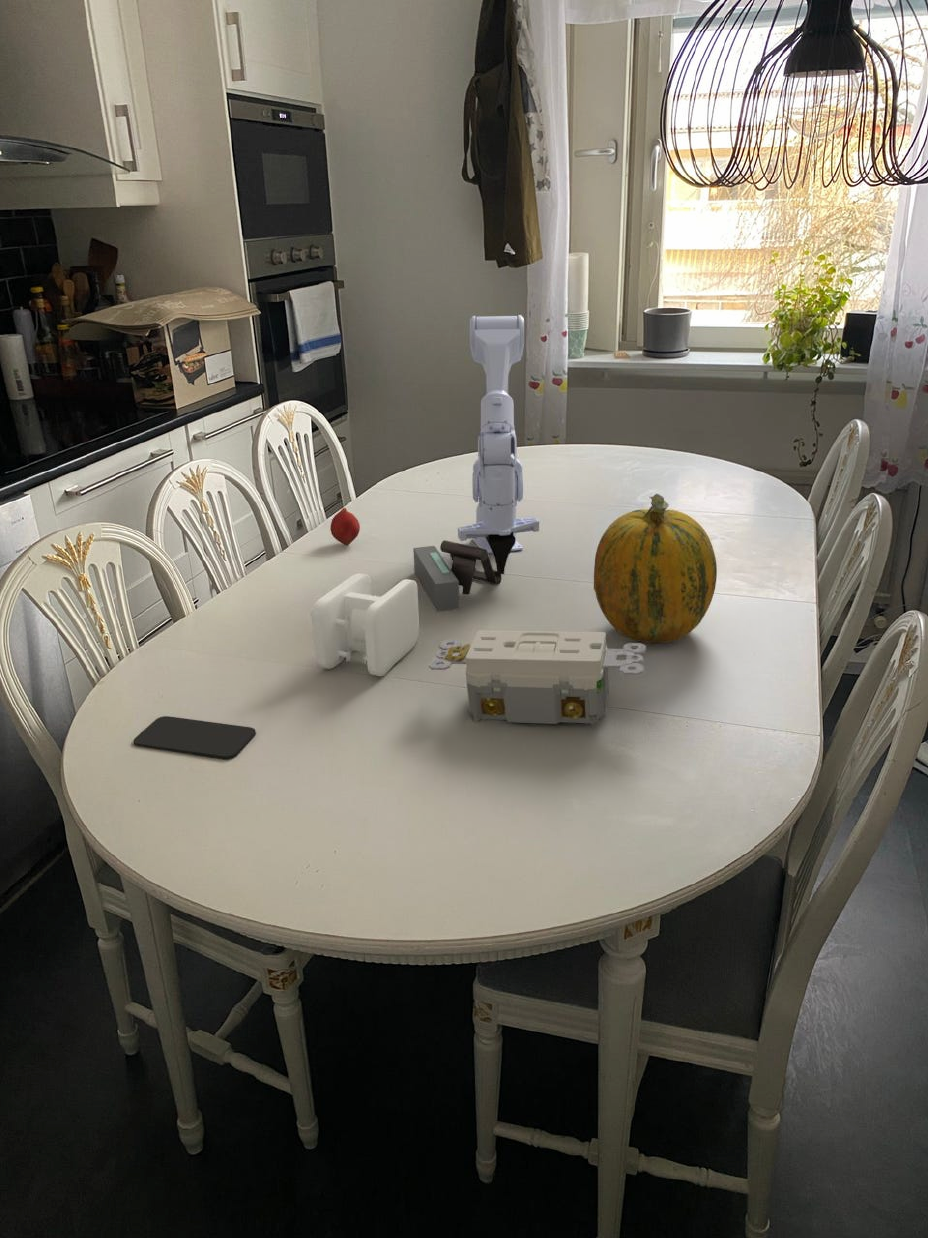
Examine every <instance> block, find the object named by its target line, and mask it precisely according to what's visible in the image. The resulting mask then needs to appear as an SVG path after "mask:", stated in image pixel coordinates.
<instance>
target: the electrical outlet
mask: <svg viewBox="0 0 928 1238" xmlns="http://www.w3.org/2000/svg"><path fill="white" fill-rule="evenodd" d="M438 648H439V649H441V650H439V651H437V652H436V654H435V659H432V660H431V661H430V662H429V663H428V668H429V669H431V670H433V671H445V670H447V669H449V668H451V666H452V665H466V668H465V680H466V690H467V700H468V701H467V702H468V708H469V712H470V714H471V715H472V717H473V720H474V721H476V722H477V721H479V720H493V721H494V720H495V721H507V722H508V723H522V724H524V723H525V724H528V723H529V724H552V725H554V724H555V725H556V724H559V723H577V724H578V723H579V724H581V723H582V724H589V723H590V725H594V722H595V723H598V722H599V719H601V718H603V717H604V716H605V715H606V713H607V705H608V698H609V669H610V668H611V669H612V668H615V669H619V672H620V673H621V674H623V675H628V676H629V675H631V676H633V675H634V676H638V675H640V674H642V673H643V674H644V665H642V664H641V663H642V662H643V661H644V656H643V655H642V654H644V653H646V651H647V650H646V648H647V646H646V645H645V644H643V643H642V642H641V643H638V642H635V643H633V642H630V643H626V644H624V645H623V648H608V646H607V633H606V632H603V631H567V630H566V631H563V630H562V631H559V630H557V631H556V630H555V631H553V630H552V631H551V630H548V631H547V630H546V631H545V630H501V629H500V630H499V629H497V630H496V629H495V630H494V629H493V630H492V629H490V630H489V629H488V630H487V629H482V630H481V629H480V630H478V631H477V632H476V634H475V636H474V638H473V640H472V642H471V644H470V643H467V644H464V645H462V642H461V641H460V640H456V639H455V640H454V639H447V640H443V641H441V642H440V644H439V645H438ZM453 654H458V655H453ZM619 657H625V658H626V659H621V660H619V659H618V658H619ZM608 668H609V669H608ZM631 669H632V670H631Z"/></svg>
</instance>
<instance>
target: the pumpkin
mask: <svg viewBox="0 0 928 1238" xmlns="http://www.w3.org/2000/svg"><path fill="white" fill-rule="evenodd" d="M649 498H650V499H651V502H650V505H651V506H650V507H649V508H642V509H637V510H631V511H632V512H630V511H629V512H627V513H625V514H622V515H621V516H619V517H618V518H616V519H615V520H614V521H613V522H611V524H610V525H609V526H608V527H607V528H606V530H605V531H604V532H603V534H602V536H601V538H600V540H599V543H598V545H597V548H596V552H595V557H594V566H593V567H594V569H593V589H594V592H595V597H596V600H597V603H598V606H599V608H600V610H601V612H602V614H603V616H604V617H605V619H606V620H607V622H608V623H609V624H610V625H611V626H612V627H613V629H615V630H616V631H617V632H619V633H620V635H623V636H624V637H626V638H628V639H631V640H633V641H637V642H641V643H642V642H643V643H649V644H651V643H653V644H665V643H666V644H667V643H670V642H674V641H677V640H679V639H681V638H684V637H685V636H687V635H689V634H690V633H691V632H692V631H693V630H695V629H696V628H697V626H699V624H700V623H701V622H702V621H703V619H704V617H705V616H706V614H707V611H708V610H709V608H710V606H711V602H712V600H713V598H714V594H715V592H716V591H715V590H716V584H717V573H718V569H717V567H718V566H717V565H718V564H717V558H716V554H715V551H714V547H713V544H712V541H711V540H710V537H709V535H708V533H707V532H706V531H705V529H704V528H703V526H701V524H700V523H698V522H697V521H696V520H695V519H694V518H693V517H692V516H690V515H688V514H686V513H684V512H683V511H679V510H675V509H668V507H669V506H670V504H669V503H668V502H667V501H665V498H664V496H662V495H661V494H659V493H655V494H654V495H653V496H649Z"/></svg>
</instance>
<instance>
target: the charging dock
mask: <svg viewBox="0 0 928 1238" xmlns="http://www.w3.org/2000/svg"><path fill="white" fill-rule="evenodd" d="M412 551H413V567H414V568H413V571H414V575H415V577H416V578H417V580H418V582H419V584H420V585H421V587H422V589H423V590H424V592H425V594H426V595H427V597H428V598H429V601H430V602H431V604H432V605H433V606H432V607H435V608H434V609H435V611H436V612H440V611H449V610H458V609H460V585H459V581H458V580H457V578H456V577H455V575H454V574H453V572H452V571H451V567H450V566H449V564H448V563H447V562H446V560H445V558H444V557H443V556H442V555H441V553H440V551H439V550H438V549H437V547H436V546H435V545H428V546H421V547H420V546H419V547H413V550H412Z"/></svg>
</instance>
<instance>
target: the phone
mask: <svg viewBox="0 0 928 1238" xmlns="http://www.w3.org/2000/svg"><path fill="white" fill-rule="evenodd" d="M256 731H257V730H256V729H255V728H253V727H252V726H251V727H250V726H243V725H236V724H228V723H222V722H221V723H219V722H216V721H215V722H214V721H205V720H199V719H198V720H197V719H192V718H191V719H190V718H183V717H178V716H169V715H166V716H165V715H163V716H159V717H157V718H156V719H155V720H153V721H152V722H151V723H150V724H149V725H148V726H147V727H146V728H145V729H144V730H143V731H141V732H140V733H139V734H137V736H135V738H134V739H133V741H132V742H133V745H134V746H135V747H140V748H146V749H153V750H159V751H165V752H170V753H179V754H185V755H190V756H191V755H192V756H198V757H204V758H209V759H210V758H211V759H217V760H223V761H225V760H226V761H229V760H233V759H235V758H236V757H238V755H239V754H241V753H242V751H243V750H244V749H245V748H246V747H247V746H248V744H250V742H251V741H253V739H254V738H255V737H256V736H257V732H256Z"/></svg>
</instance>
